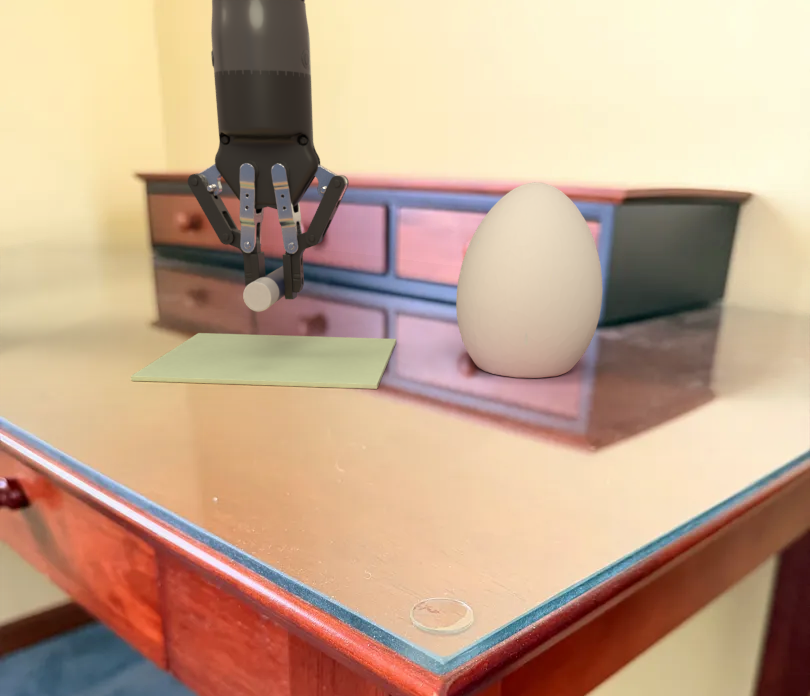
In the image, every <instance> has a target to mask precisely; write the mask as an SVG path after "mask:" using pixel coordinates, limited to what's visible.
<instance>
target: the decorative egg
mask: <svg viewBox="0 0 810 696" xmlns="http://www.w3.org/2000/svg"><path fill="white" fill-rule="evenodd" d="M592 233H593V232H592V230H591V228H590V227H589V225H588V222H587V220H586V219H585V217H584V216H583V214H582V212H581V211H580V210H579V208H578V207H577V205H576V204H575V203H574V202H573V201H572V199H571V198H570V197H569V196H567V194H566V193H564V192H563V191H561V190H560V189H559V188H557V187H556V186H554V185H552V184H548V183H544V182H528V183H525V184H521V185H518V186H517V187H515V188H514V189H512V190H510V191H508V192H507V193H505V194H504V195H503V196H502V197H501V198H500V199H499V200H498V201H497V202H496V203H495V204H493V206H492V207H491V208H490V210H489V211H488V212H487V214H486V215H485V216H484V218H483V219H482V220H481V222H480V223H479V224H478V226H477V228H476V230H475V231H474V234H473V236H472V237H471V238H470V241H469V244H468V246H467V248H466V251H465V254H464V256H463V260H462V261H461V262H462V263H461V266H460V270H459V276H458V279H457V286H456V287H457V288H456V299H455V300H456V301H455V303H456V304H455V305H456V306H455V308H456V309H455V311H456V318H457V320H456V321H457V326H458V330H459V334H460V338H461V341H462V343H463V345H464V346H463V347H465V350H466V351H467V354H468V356H469V357H470V358H471V360H472V362H473V363H474V365H476V367H477V368H478V369H480V370H482V371H484V372H486V373H490V374H493V375H495V376H496V375H497V376H503V377H509V378H521V379H527V378H528V379H541V378H551V377H558V376H561V375H564V374H566V373H568V372H570V371H571V370H572V369H573V368H574V367H575V366H576V365H577V363H578V362H579V361H580V360H581V359H582V357H583V356H584V354H585V353H586V352H587V350H588V348H589V346H590V344H591V342H592V340H593V338H594V336H595V333H596V330H597V328H598V324H599V321H600V316H601V309H602V302H603V275H602V267H601V260H600V255H599V252H598V248H597V245H596V241H595V239H594V236H593V234H592Z"/></svg>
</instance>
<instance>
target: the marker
mask: <svg viewBox="0 0 810 696" xmlns="http://www.w3.org/2000/svg"><path fill="white" fill-rule="evenodd" d="M284 292H285V286H284V273H283V265H282V266H280V267H278V268H276V269H275V270H273V271H271V272H269V273H268V274H267V275H266V274H265V277H262V278H259V279H257V280H255V281H253V282H252V283H250V284H249V285H247V286H245V288H244V290H243V295H242V298H243V301H244V304H245V305H246V307H247V308H248V309H250V310H251V311H253V312H255V313H259V312H260V313H261V312H264V311H266V310H267V309H269V308H271V306H273V305H274V304H275V303H277V302H278V301H279V300H281V299H282V298H283V297H285V293H284Z"/></svg>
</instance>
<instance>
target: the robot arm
mask: <svg viewBox="0 0 810 696" xmlns="http://www.w3.org/2000/svg"><path fill="white" fill-rule="evenodd" d="M210 26H211V27H210V29H211V32H210V33H211V34H210V35H211V52H210V53H211V56H210V57H211V65H212V67H213V75H214V76H213V77H214V89H215V102H216V111H217V112H216V115H217V129H218V139H219V143H218V148H217V151H216V154H215V155H214V164H211V166H209V167H206V169H204V170H202V171H200V172H199V173H193V174H190V175H189V176H188V178H187V185H188V187H189V188H190V190H191V192H192V194H193V196H194V197H195V200H196V201H197V202H198V205H199V206H200V208H201V210H202V212H203V213H204V215H205V217H206V219H207V220H208V222H209V224H210V225H211V227H212V229H213V231H214V233H215V235H216V236H217V238H218V240H219V241H220V243H221V244H223V245H225V246H232V247H234V248H236V249H238V250H240V252H241V253H242V258H243V269H244V271H243V272H244V284H245V287H246V286H247V285H249V284H250V283H252V282H253V281H255V280H257V279H259V278H262V277H265V276H266V262H265V261H266V260H265V251H262V232H263V231H262V228H263V222H264V215H265V214H264V211H265V208H270V209H274V210H276V211H277V217H278V222H279V225H280V228H281V229H280V230H281V235H282V236H281V237H282V242H283V243H282V244H283V248H284V251H285V252H284V253H283V254H282V266H283V273H284V286H285V292H284V293H285V296H284V299H285V300H295V299H296V298H297V297H298V293H300V292H301V291H303V289H304V286H305V278H304V277H305V275H304V274H305V273H304V252H305V251H306V249H309V248H311V247H315V246H317V245H319V244H320V243H322V242H323V241H324V238H325V236H326V234H327V232H328V230H329V228H330V225H331V223H332V221H333V219H334V217H335V215H336V213H337V211H338V209H339V207H340V205H341V202H342V200H343V198H344V196H345V194H346V192H347V190H348V188H349V185H350V181H349V179H348V177H347V176H345V174H344V175H343V174H337V173H335V172H333V171H332V170H330V169H328V168H327V167H325V166H323V165H322V164H321V159H320V156H319V154H318V153H317V149H316V147H315V143H314V125H313V122H314V121H313V98H312V97H313V96H312V93H313V92H312V91H313V89H312V65H311V63H312V62H311V41H310V31H309V24H308V18H307V8H306V0H211V25H210ZM222 178H223V180H224V182H225V183H226V185H227V186H228V187H229V188H230V190H231V191H232V192H233V194H234V195H235V197H236V198H237V199H238V201H239V222H240V229H239V227H238V226H237V224H236V223H235V221H234V219H233V217H232V215H231V214H230V212H229V210H228V208H227V207H226V205H225V203H224V201H223V200H222V199H223V198H222V197H221V196H220V195H222V192H223V185H222V182H221V180H222ZM315 178H316V180H317V187H316V189H317V190H316V191H317V194H318V195H319V197H320V198H321V200H320V203H319V205H318V206H317V209H316V211H315V213H314V214H313V217H312V219H311V222H310V224H309V225H308V228H307V231H304V232H303V229H302V214H301V207H300V202H301V200H302V199H303V197H304V196H305V194H306V192H307V191H308V189H309V187H311V185H312V183H313V181H314V179H315Z"/></svg>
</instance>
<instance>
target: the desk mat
mask: <svg viewBox="0 0 810 696" xmlns="http://www.w3.org/2000/svg"><path fill="white" fill-rule="evenodd" d="M396 345H397V338H382V337H381V338H379V337H346V336H345V337H344V336H316V335H315V336H313V335H312V336H311V335H310V336H309V335H277V334H275V335H273V334H247V333H246V334H245V333H244V334H242V333H212V332H198V333H196V334H195V335H193V336H191V337H190V338H188V339H187V340H185V341H183V342H182V343H180V344H179V345H177V346H175V347H174V348H173V349H171V350H169V351H168V352H166V353H165V354H163V355H162V356H160V357H158V358H157V359H155V360H154V361H152V362H150V363H149V364H148V365H146V366H145V367H143V368H141V369H139V370H138V371H136V372H135V373H133V374H132V375H130V380H131V381H132V382H154V383H155V382H158V383H184V384H185V383H186V384H187V383H188V384H219V385H243V386H244V385H249V386H253V385H254V386H275V387H276V386H277V387H307V388H337V389H362V390H363V389H367V390H377V389H378V388H379V386H380V383H381V380H382V378H383V376H384V373H385V371H386V368H387V366H388V364H389V361H390V359H391V357H392V355H393V352H394V349H395V347H396Z"/></svg>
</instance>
